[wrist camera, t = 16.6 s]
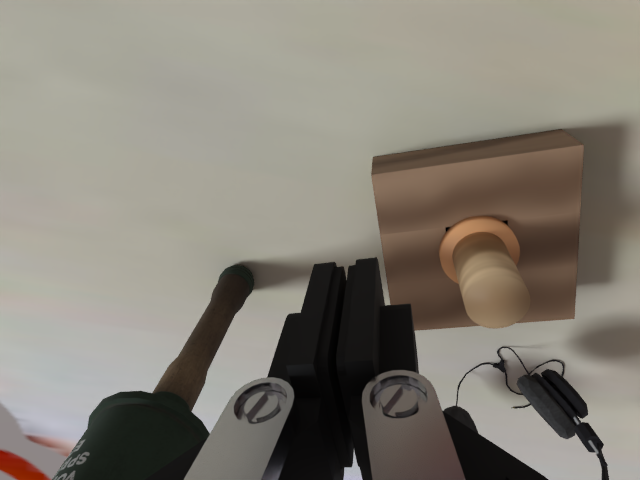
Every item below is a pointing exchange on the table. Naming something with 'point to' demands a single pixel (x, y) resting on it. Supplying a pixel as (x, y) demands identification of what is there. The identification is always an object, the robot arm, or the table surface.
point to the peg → (486, 270)
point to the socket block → (481, 200)
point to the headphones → (548, 407)
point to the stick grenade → (158, 402)
